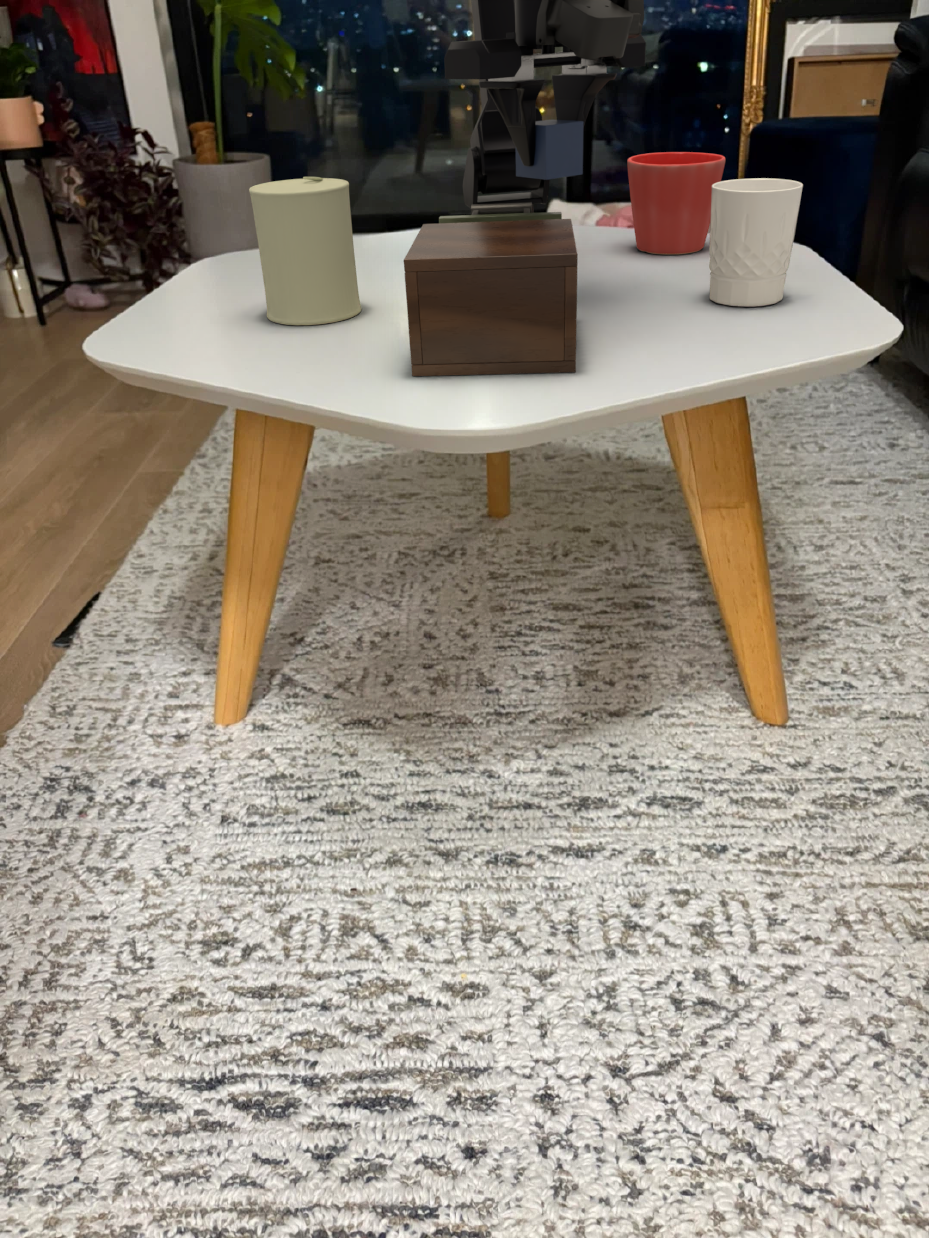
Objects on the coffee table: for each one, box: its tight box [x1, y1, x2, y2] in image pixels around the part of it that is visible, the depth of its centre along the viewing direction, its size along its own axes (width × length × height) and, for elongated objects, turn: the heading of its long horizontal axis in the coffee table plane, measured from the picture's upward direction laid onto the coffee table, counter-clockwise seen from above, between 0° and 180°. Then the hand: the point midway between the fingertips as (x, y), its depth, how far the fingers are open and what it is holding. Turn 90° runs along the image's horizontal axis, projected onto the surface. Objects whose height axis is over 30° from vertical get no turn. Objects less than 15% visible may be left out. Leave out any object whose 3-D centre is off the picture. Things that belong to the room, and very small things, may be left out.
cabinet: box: [403, 218, 579, 377], centre depth 80 cm, size 15×13×9 cm
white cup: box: [708, 177, 804, 308], centre depth 90 cm, size 8×8×10 cm
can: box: [248, 176, 362, 326], centre depth 92 cm, size 9×9×12 cm
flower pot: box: [626, 151, 726, 256], centre depth 111 cm, size 11×11×10 cm
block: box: [516, 119, 584, 180], centre depth 89 cm, size 4×4×4 cm
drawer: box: [438, 202, 563, 224], centre depth 91 cm, size 18×12×7 cm, turn 177°
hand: (548, 163), depth 90 cm, fingers closed on block, 4 cm apart
